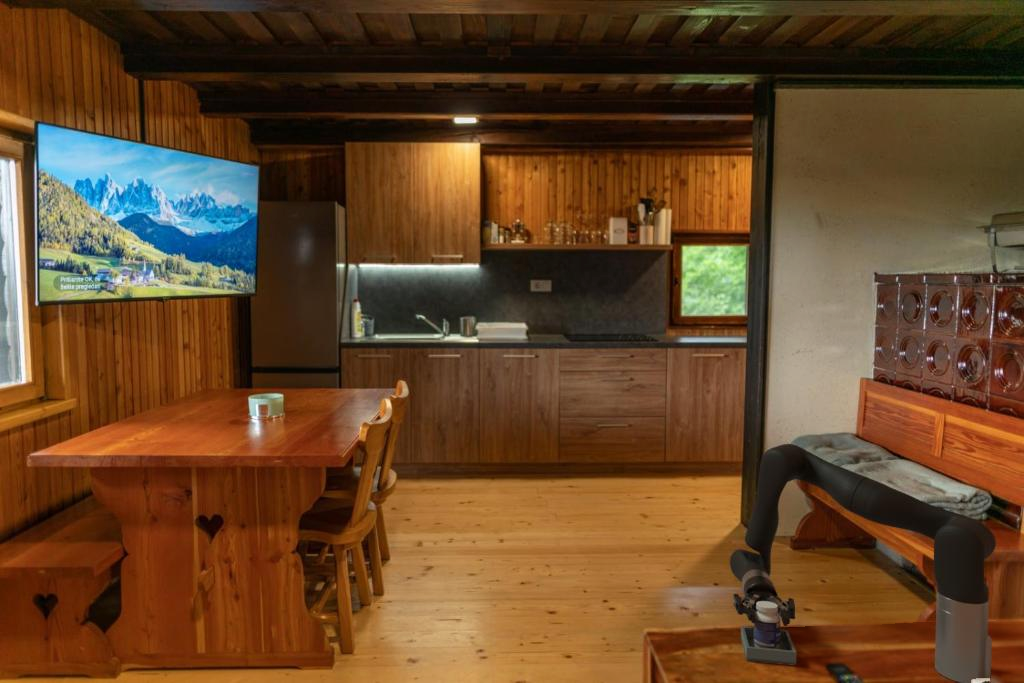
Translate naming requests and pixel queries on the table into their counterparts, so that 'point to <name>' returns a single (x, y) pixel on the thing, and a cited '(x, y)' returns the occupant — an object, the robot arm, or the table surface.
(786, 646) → the tray
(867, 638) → the table surface
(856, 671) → the table surface
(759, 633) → the pill bottle
